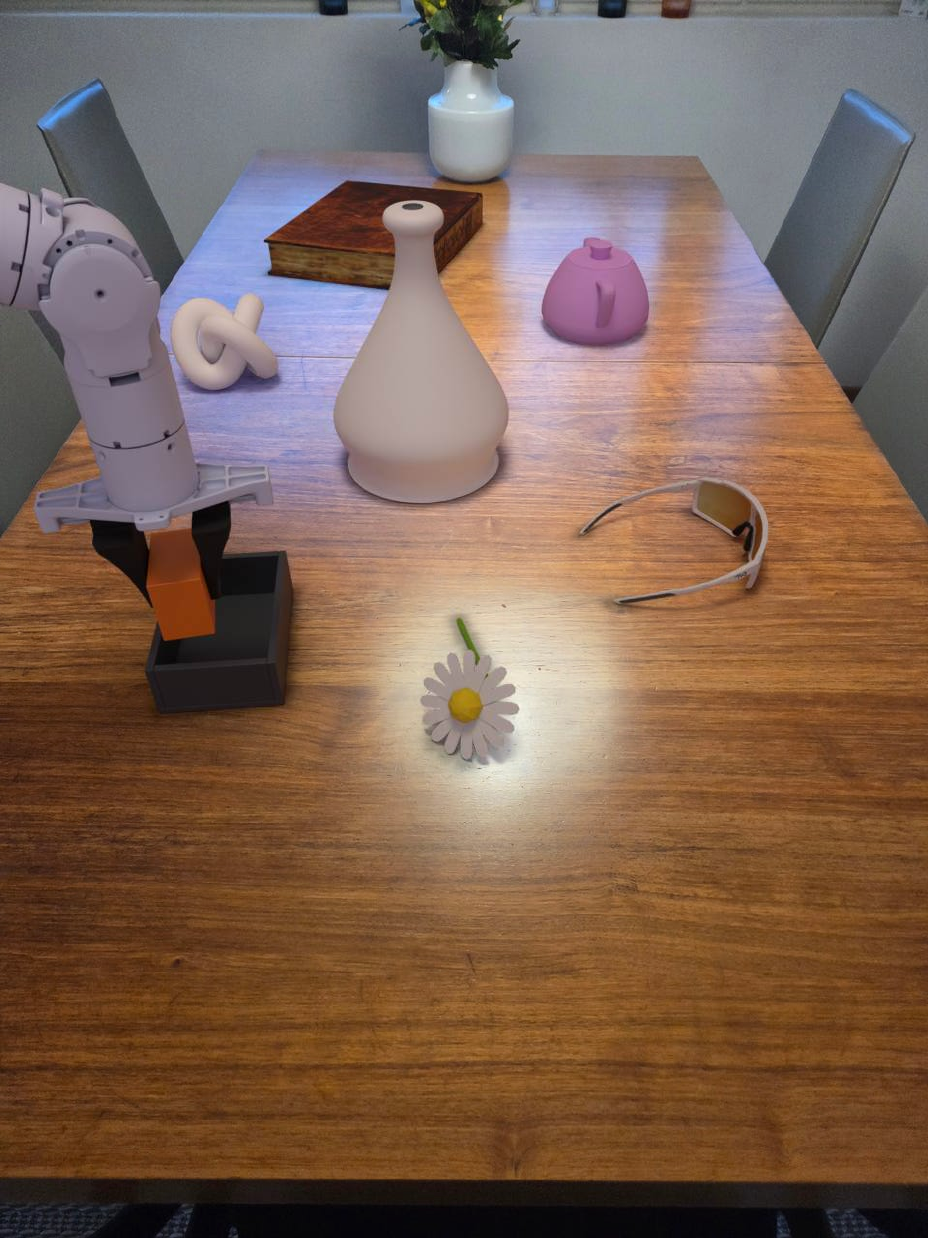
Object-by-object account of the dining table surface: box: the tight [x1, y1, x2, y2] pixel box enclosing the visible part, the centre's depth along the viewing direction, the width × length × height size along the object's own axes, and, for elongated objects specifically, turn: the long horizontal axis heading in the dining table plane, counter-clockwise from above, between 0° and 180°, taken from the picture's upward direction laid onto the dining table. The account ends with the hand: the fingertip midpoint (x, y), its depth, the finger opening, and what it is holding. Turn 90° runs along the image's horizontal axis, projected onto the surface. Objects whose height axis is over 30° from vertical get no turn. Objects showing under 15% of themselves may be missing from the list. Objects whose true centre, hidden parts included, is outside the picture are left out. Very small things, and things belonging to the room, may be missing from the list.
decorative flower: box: [419, 617, 520, 761], centre depth 65 cm, size 8×6×15 cm
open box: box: [144, 550, 294, 714], centre depth 69 cm, size 9×13×4 cm
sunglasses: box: [578, 476, 770, 605], centre depth 78 cm, size 14×15×5 cm
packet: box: [146, 527, 215, 641], centre depth 61 cm, size 4×6×5 cm, turn 12°
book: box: [263, 179, 484, 291], centre depth 135 cm, size 30×24×5 cm
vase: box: [332, 201, 510, 504], centre depth 82 cm, size 17×17×25 cm
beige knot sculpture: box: [170, 292, 279, 391], centre depth 102 cm, size 11×12×9 cm
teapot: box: [541, 236, 650, 346], centre depth 112 cm, size 14×20×11 cm
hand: (185, 594), depth 62 cm, fingers closed on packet, 3 cm apart
